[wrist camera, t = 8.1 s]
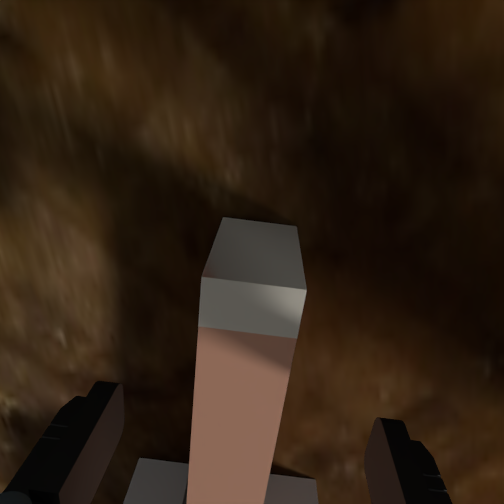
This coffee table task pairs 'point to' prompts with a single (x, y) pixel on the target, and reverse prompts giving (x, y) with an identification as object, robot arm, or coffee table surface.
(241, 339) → the pink white-banded pillar
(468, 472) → the coffee table surface
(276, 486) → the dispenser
